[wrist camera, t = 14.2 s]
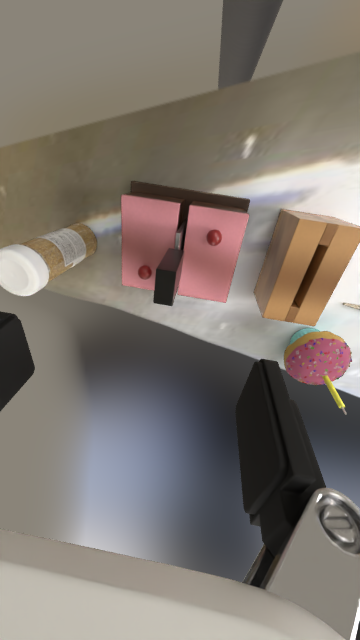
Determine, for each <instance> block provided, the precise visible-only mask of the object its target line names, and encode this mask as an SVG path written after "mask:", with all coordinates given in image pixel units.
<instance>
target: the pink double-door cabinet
mask: <svg viewBox="0 0 360 640" xmlns="http://www.w3.org/2000/svg"><path fill="white" fill-rule="evenodd" d="M249 203H250V199H246V198H239V197H233V196H226V195H220V194H213V193H207V192H200V191H194V190H188V189H181V188H175V187H168V186H162V185H155V184H149V183H142V182H136V181H131V193H127V194H123V195H121V218H122V285H125V286H131V287H136V288H142V289H148V290H154V288H155V275H156V268H157V267H158V265H159V263H160V262H161V260H162V258H163V257H164V255H165V253H166V252H167V250H168V248H171V249H175V240H176V233H177V231H178V230H179V228H180V226H181V225H182V223H183V222H184V220H185V219H187V220H188V221H187V228H186V236H185V243H184V250H183V251H184V258H183V265H182V272H181V279H180V282H179V287H178V295H183V296H189V297H195V298H201V299H206V300H212V301H218V302H224V303H226V300H227V297H228V293H229V289H230V285H231V282H232V278H233V274H234V270H235V267H236V263H237V259H238V255H239V252H240V248H241V244H242V240H243V237H244V233H245V229H246V225H247V222H248V218H249V214H248V213H247V211H248V207H249Z"/></svg>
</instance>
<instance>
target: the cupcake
mask: <svg viewBox="0 0 360 640" xmlns="http://www.w3.org/2000/svg"><path fill="white" fill-rule="evenodd" d="M350 362H352V359H351V353H350V348H349V346H348V345H347V344H346V343H345V341H344V340H343V339H342V338H341V337H339V336H337V335H335V334H333V333H331V332H328V331H322V332H320V331H319V330H317V329H314V328H305V329H302V330H299V331H298V332H296V333H295V334H294V335H293V336H292V338H291V341H290V345H289V346H288V347H287V348H286V350H285V353H284V365H285V368H286V371H287V373H288V374H289V375H291V377H293V378H295V379H296V380H298V381H299V382H303V383H305V384H309V385H310V384H314V385H317V384H324V385H325V384H326V385H327V386H328V388H329V390H330V392H331V394H332V396H333V397H334V399H335V401H336V403H337V405H338V406H339V408H342V410H343V411H344V413H345V414H346V411H345V410H344V407H345V405H344V404H343V402H342V400H341V399H340V397H339V395H338V393H337V391H336V390H335V388H334V386H333V384H332V382H331V381H334V380H336V379H339V378H340V377H342V376H343V375H344V373H345V372H346V370H347V368H348V366H349V367H350V365H349V364H350ZM342 374H343V375H342Z"/></svg>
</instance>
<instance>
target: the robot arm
mask: <svg viewBox="0 0 360 640" xmlns="http://www.w3.org/2000/svg"><path fill="white" fill-rule="evenodd" d="M34 370H35V367H34V363H33V360H32V356H31V353H30V350H29V347H28V343H27V340H26V337H25V333H24V330H23V327H22V324H21V321H20V320H19V319H18V317H17V316H16V315H15V314H11V313H5V312H0V411H1V410H2V409H3V408H4V407H5V405H6V404H7V403H8V402H9V401H10V400H11V398H12V397H13V396H14V395H15V394H16V393H17V392H18V391H19V390H20V388H21V387H22V386H23V385H24V384H25V383H26V382H27V380H28V379H29V378H30V377H31V376H32V375H33V373H34ZM236 423H237V436H238V446H239V459H240V470H241V482H242V493H243V504H244V510H245V512H246V513H248V514H249V515H250V524H251V525H256V526H261V534H262V541H263V542H264V545H263V547H262V549H261V550H260V552H259V554H258V556H257V557H256V559H255V561H254V563H253V564H252V566H251V568H250V570H249V571H248V573H247V575H246V577H245V579H244V580H243V582H242V583H241V582H237V581H234V580H231V579H227V578H223V577H218V576H214V575H210V574H205V573H202V572H197V571H193V570H189V569H184V568H180V567H177V566H172V565H168V564H163V563H159V562H154V561H149V560H145V559H140V558H135V557H131V556H126V555H121V554H117V553H112V552H107V551H103V550H99V549H94V548H89V547H84V546H79V545H75V544H71V543H66V542H61V541H56V540H51V539H46V538H42V537H37V536H33V535H28V534H23V533H19V532H14V531H9V530H4V529H0V640H360V509H359V508H358V507H357V506H356V505H355V504H354V503H353V502H352V501H351V500H350V499H349V498H348V497H346V496H345V495H343V494H342V493H340V492H338V491H336V490H333V489H331V488H326V485H325V483H324V480H323V477H322V474H321V471H320V468H319V465H318V463H317V460H316V457H315V454H314V451H313V448H312V446H311V443H310V440H309V437H308V434H307V432H306V429H305V425H304V423H303V420H302V417H301V414H300V412H299V408H298V406H297V404H296V402H295V401H294V400H291V399H290V398H289V394H288V391H287V388H286V385H285V382H284V379H283V376H282V373H281V371H280V367H279V364H278V362H277V361H271V360H266V359H261V360H260V361H259V362H255V363H254V365H253V367H252V370H251V372H250V374H249V377H248V379H247V382H246V384H245V386H244V389H243V391H242V393H241V396H240V398H239V400H238V403H237V405H236Z"/></svg>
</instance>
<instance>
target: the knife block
mask: <svg viewBox="0 0 360 640" xmlns="http://www.w3.org/2000/svg"><path fill="white" fill-rule="evenodd" d="M359 243H360V226H357V225H354V224H351V223H349V222H346V221H343V220H340V219H337V218H335V217H330V216H323V215H317V214H310V213H304V212H298V211H291V210H285V209H281V212H280V215H279V218H278V221H277V224H276V227H275V230H274V233H273V236H272V239H271V242H270V245H269V248H268V251H267V254H266V257H265V260H264V263H263V266H262V269H261V272H260V275H259V278H258V281H257V284H256V287H255V290H254V294H255V297H256V300H257V303H258V306H259V309H260V312H261V315H262V317H263V318H268V319H274V320H280V321H286V322H293V323H298V324H304V325H310V326H315V325H316V323H317V321H318V319H319V317H320V315H321V314H322V312H323V310H324V308H325V306H326V304H327V302H328V300H329V299H330V297H331V295H332V293H333V291H334V289H335V287H336V286H337V284H338V282H339V280H340V278H341V276H342V274H343V272H344V271H345V269H346V267H347V265H348V263H349V261H350V259H351V257H352V256H353V254H354V252H355V250H356V248H357V246H358V244H359Z"/></svg>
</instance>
